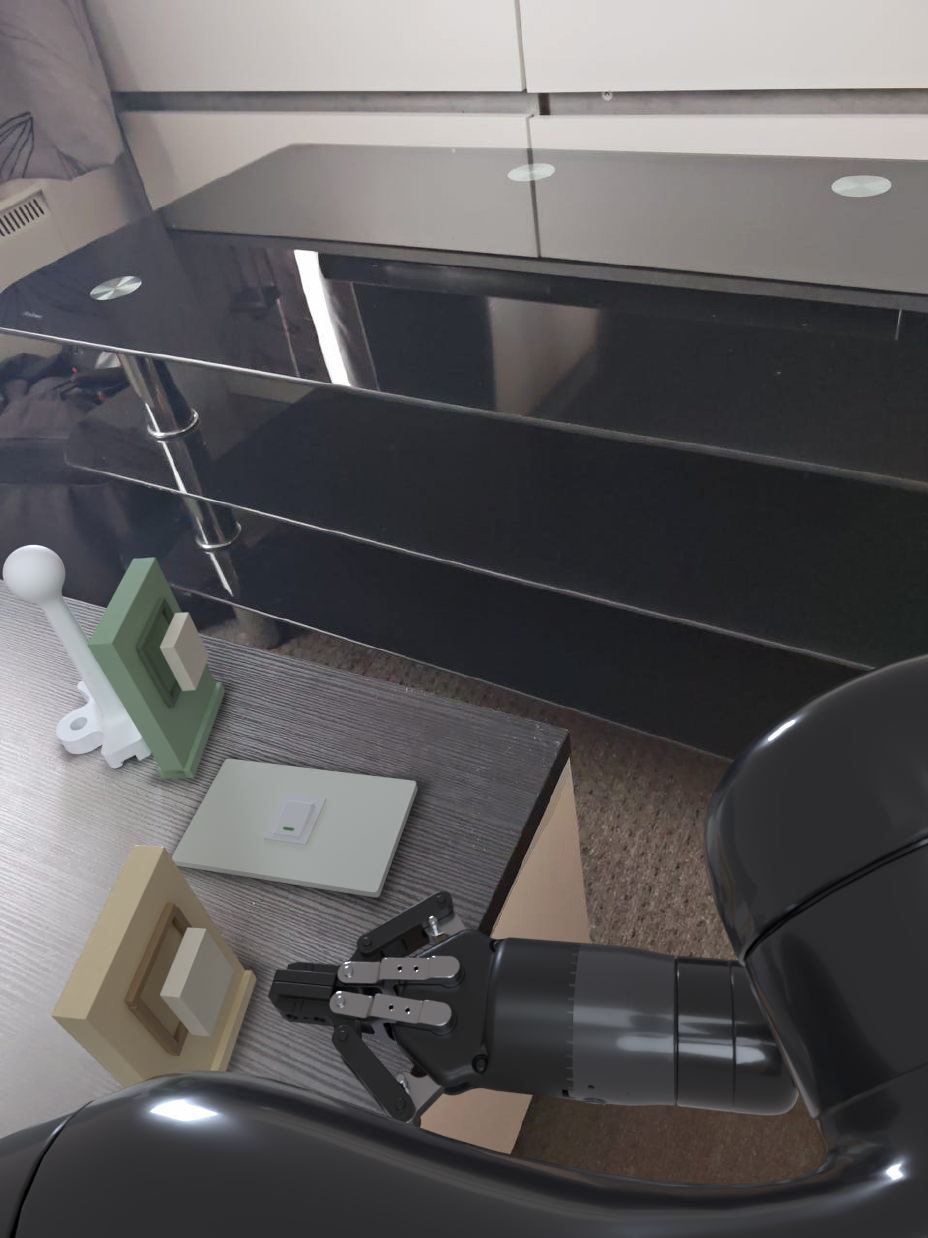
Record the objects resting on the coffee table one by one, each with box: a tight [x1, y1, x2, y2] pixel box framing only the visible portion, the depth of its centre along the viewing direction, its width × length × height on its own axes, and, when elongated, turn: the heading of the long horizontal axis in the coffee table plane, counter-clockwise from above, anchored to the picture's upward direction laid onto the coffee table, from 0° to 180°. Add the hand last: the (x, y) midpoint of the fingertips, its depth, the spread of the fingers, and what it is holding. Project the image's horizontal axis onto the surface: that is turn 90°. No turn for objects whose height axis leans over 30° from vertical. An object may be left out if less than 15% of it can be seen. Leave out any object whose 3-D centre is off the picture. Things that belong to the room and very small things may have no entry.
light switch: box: [171, 758, 419, 898], centre depth 72 cm, size 17×1×10 cm
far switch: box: [160, 612, 210, 691], centre depth 74 cm, size 1×4×5 cm, turn 176°
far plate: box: [87, 557, 226, 780], centre depth 76 cm, size 3×10×16 cm, turn 176°
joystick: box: [2, 544, 152, 769], centre depth 77 cm, size 11×8×20 cm
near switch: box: [160, 927, 234, 1037], centre depth 52 cm, size 1×4×5 cm, turn 171°
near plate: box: [50, 844, 258, 1088], centre depth 54 cm, size 3×10×16 cm, turn 171°
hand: (275, 990), depth 51 cm, fingers closed
